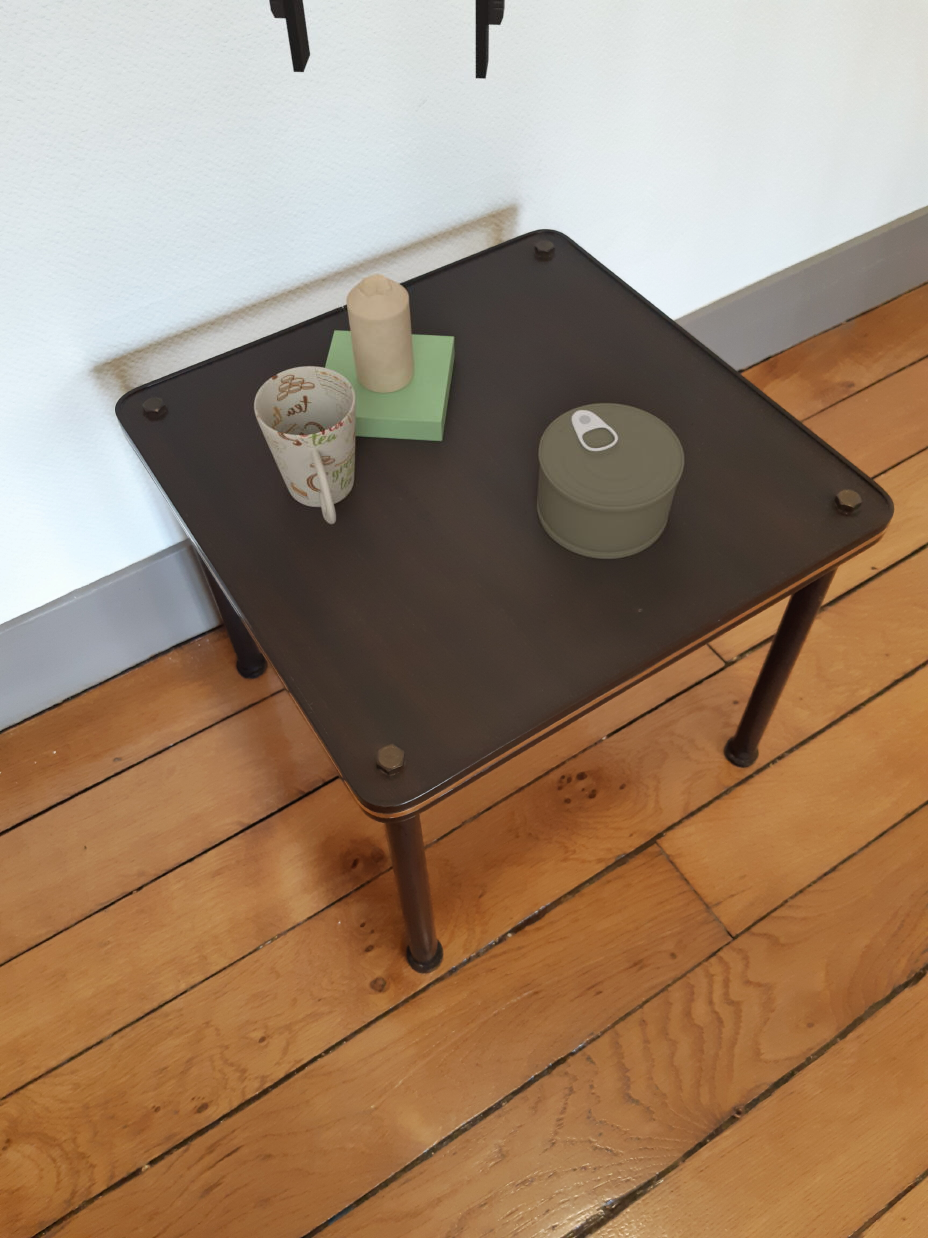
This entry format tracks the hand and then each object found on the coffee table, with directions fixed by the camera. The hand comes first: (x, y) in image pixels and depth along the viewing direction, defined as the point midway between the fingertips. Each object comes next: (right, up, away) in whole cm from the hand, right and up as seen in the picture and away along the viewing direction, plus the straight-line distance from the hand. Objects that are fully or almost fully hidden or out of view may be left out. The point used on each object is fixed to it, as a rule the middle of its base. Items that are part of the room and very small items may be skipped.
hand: (391, 66), depth 70 cm
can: (+18, -32, +13) cm, 39 cm away
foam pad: (-2, -19, +22) cm, 29 cm away
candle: (-2, -18, +20) cm, 27 cm away
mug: (-7, -31, +14) cm, 35 cm away
